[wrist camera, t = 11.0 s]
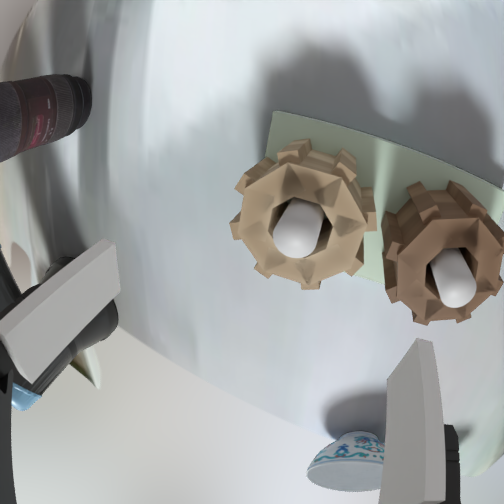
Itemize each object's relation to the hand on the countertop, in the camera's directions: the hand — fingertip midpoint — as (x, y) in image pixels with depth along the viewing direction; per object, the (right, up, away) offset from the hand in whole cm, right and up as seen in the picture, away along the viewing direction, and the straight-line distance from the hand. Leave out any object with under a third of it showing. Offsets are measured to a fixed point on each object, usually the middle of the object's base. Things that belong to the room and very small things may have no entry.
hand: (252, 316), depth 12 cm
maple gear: (+5, +7, +13) cm, 15 cm away
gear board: (+11, +6, +13) cm, 18 cm away
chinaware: (+18, -29, +30) cm, 45 cm away
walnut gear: (+15, +4, +10) cm, 19 cm away
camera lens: (-21, +20, +17) cm, 33 cm away
